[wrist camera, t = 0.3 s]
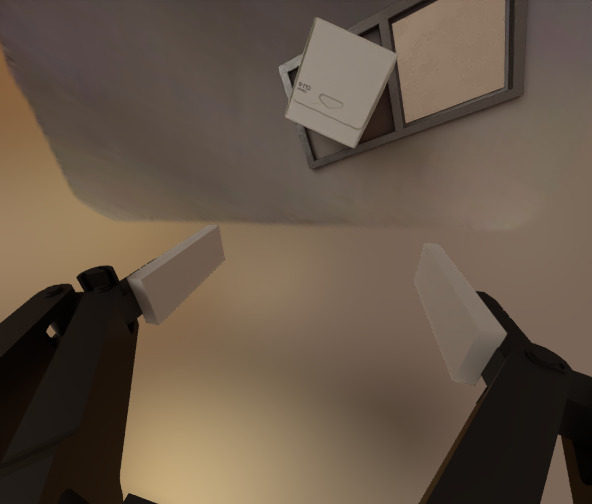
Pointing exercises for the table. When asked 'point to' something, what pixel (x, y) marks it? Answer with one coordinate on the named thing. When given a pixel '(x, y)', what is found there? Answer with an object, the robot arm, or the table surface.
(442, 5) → the grey flat rectangular frame
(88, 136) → the table surface
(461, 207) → the table surface
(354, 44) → the ink box
